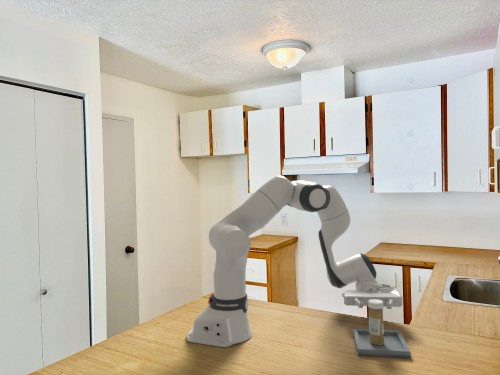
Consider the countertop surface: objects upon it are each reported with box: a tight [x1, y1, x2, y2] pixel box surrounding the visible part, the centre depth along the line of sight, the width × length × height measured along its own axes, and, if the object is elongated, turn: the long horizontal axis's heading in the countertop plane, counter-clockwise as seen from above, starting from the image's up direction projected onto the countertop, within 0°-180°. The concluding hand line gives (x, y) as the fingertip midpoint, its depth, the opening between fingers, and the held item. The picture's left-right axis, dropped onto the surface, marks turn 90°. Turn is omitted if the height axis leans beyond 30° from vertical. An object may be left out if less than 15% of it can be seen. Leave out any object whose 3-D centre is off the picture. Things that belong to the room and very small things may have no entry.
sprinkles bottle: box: [367, 299, 385, 345], centre depth 117 cm, size 5×5×14 cm
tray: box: [352, 328, 412, 359], centre depth 117 cm, size 15×15×2 cm
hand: (375, 306), depth 127 cm, fingers open, 8 cm apart
